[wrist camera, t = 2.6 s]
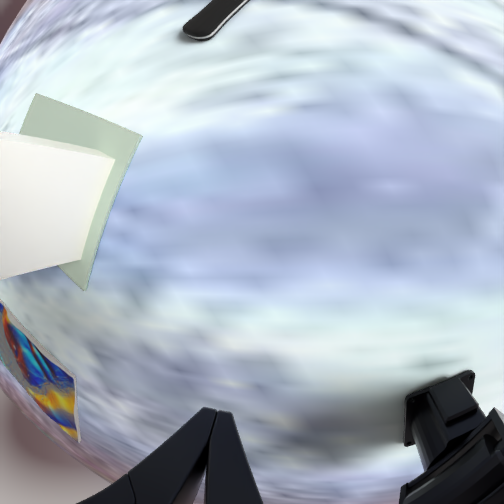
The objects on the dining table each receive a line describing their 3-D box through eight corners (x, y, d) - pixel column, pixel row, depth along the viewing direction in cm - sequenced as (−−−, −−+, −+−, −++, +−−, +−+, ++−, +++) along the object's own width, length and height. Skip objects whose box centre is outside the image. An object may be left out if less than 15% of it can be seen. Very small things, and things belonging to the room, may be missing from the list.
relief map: (-5, 347, 31) (-12, 350, 29) (-13, 276, 28) (-21, 278, 26) (83, 438, 27) (76, 445, 25) (79, 373, 24) (68, 381, 22)
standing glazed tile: (115, 159, 18) (-52, 134, 5) (80, 259, 20) (-61, 297, 7) (96, 149, 19) (-55, 124, 5) (64, 244, 20) (-69, 272, 7)
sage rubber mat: (142, 135, 18) (140, 135, 18) (86, 290, 21) (83, 291, 21) (37, 93, 20) (35, 93, 20) (2, 199, 23) (1, 200, 23)
